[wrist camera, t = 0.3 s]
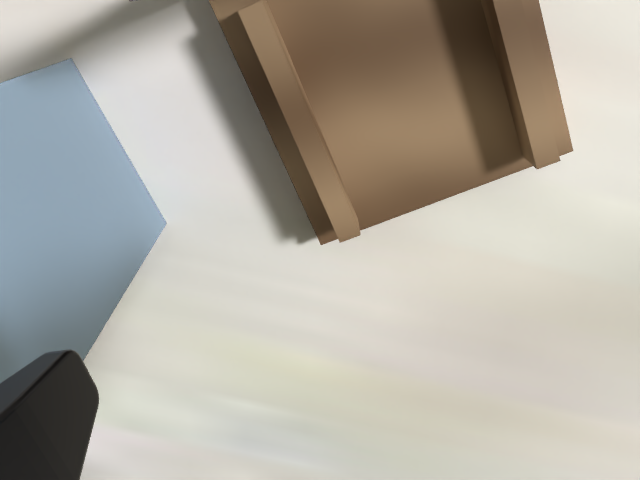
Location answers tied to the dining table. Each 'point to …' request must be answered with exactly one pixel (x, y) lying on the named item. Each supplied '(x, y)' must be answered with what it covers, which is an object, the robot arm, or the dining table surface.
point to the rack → (397, 99)
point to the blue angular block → (64, 217)
